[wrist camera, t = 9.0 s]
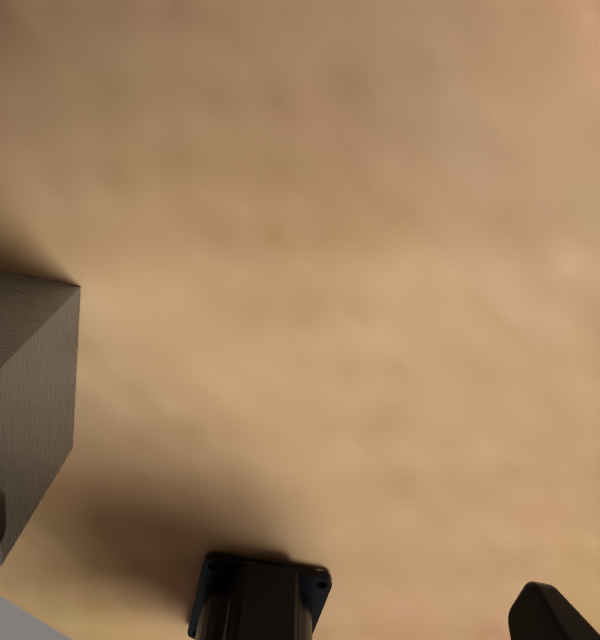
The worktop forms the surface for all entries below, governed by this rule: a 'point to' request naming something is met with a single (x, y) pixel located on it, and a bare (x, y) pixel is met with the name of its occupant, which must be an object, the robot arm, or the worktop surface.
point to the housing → (34, 391)
